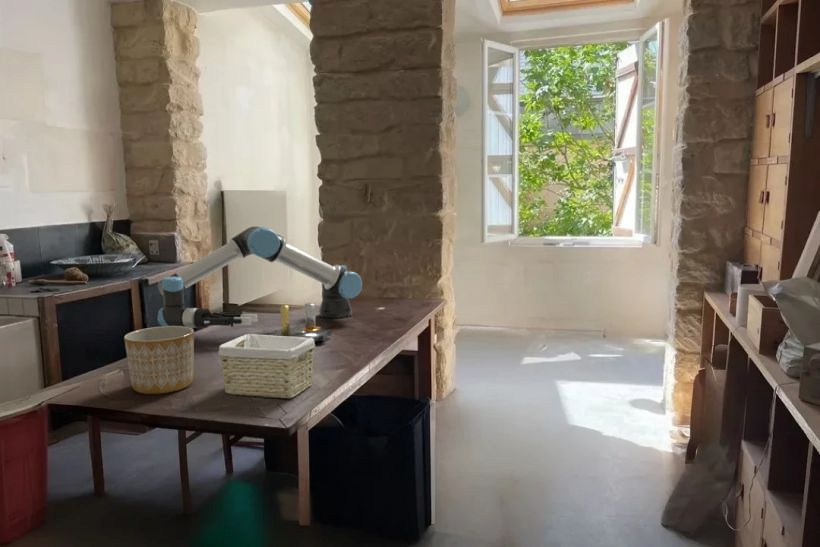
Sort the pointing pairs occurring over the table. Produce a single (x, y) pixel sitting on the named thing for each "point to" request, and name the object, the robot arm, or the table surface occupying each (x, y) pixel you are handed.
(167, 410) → the table surface
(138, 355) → the planter
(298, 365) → the storage basket
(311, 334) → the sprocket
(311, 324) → the roller
